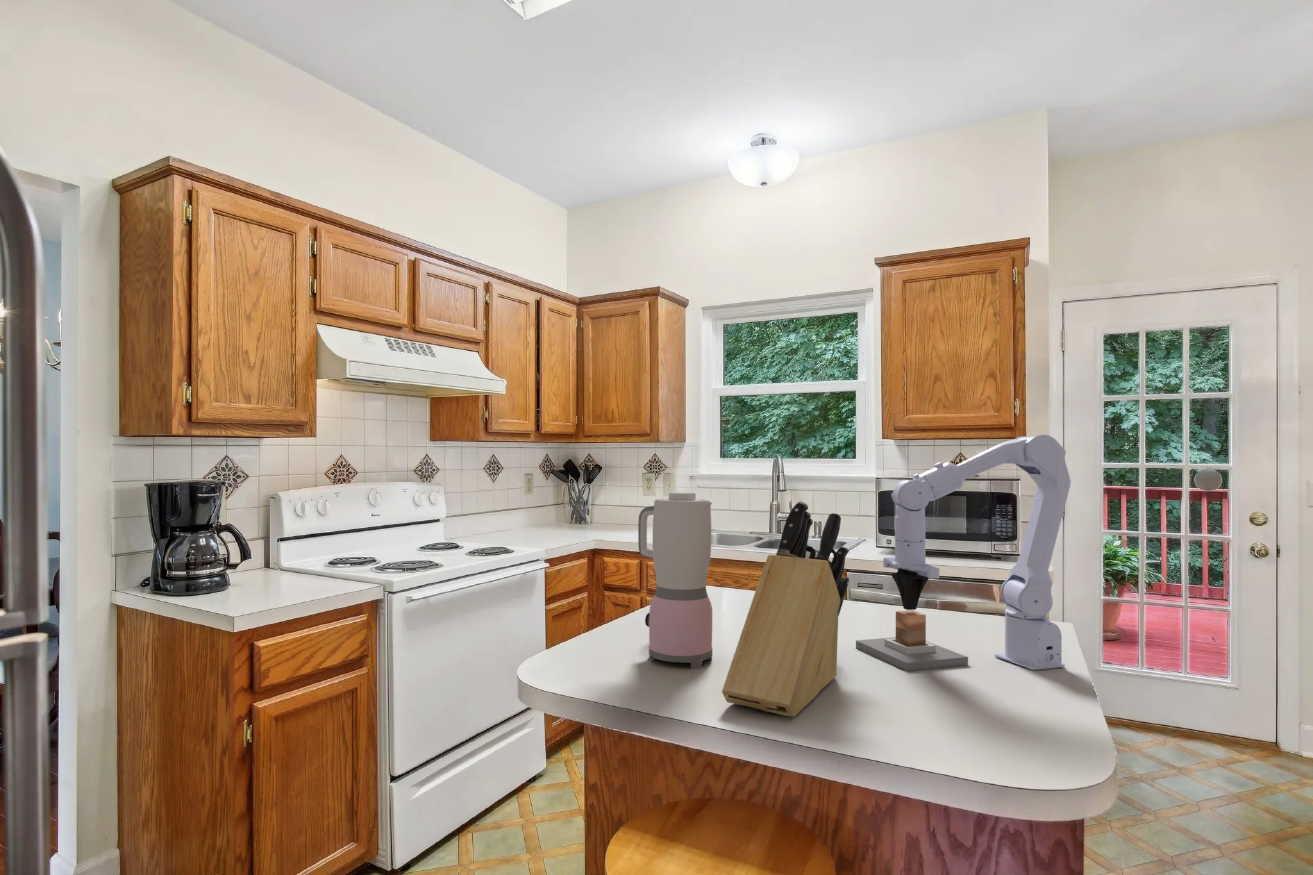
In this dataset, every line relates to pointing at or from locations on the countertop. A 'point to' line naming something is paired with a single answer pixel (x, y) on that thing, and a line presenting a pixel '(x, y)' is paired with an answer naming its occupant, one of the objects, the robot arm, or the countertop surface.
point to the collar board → (911, 654)
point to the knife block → (791, 622)
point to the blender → (679, 578)
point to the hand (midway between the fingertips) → (909, 609)
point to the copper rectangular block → (910, 628)
